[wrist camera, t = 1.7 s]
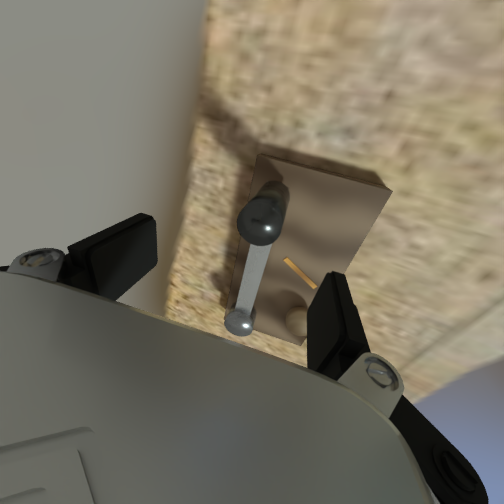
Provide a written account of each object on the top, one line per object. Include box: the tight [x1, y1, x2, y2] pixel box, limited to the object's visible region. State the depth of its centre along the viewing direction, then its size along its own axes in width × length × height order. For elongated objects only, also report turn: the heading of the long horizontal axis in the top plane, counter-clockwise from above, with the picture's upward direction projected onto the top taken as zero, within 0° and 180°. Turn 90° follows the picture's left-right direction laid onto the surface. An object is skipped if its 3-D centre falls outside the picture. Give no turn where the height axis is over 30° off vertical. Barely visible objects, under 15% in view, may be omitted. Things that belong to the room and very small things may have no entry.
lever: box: [224, 181, 290, 336], centre depth 24 cm, size 24×4×10 cm, turn 168°
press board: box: [224, 154, 393, 346], centre depth 27 cm, size 27×14×6 cm, turn 168°
